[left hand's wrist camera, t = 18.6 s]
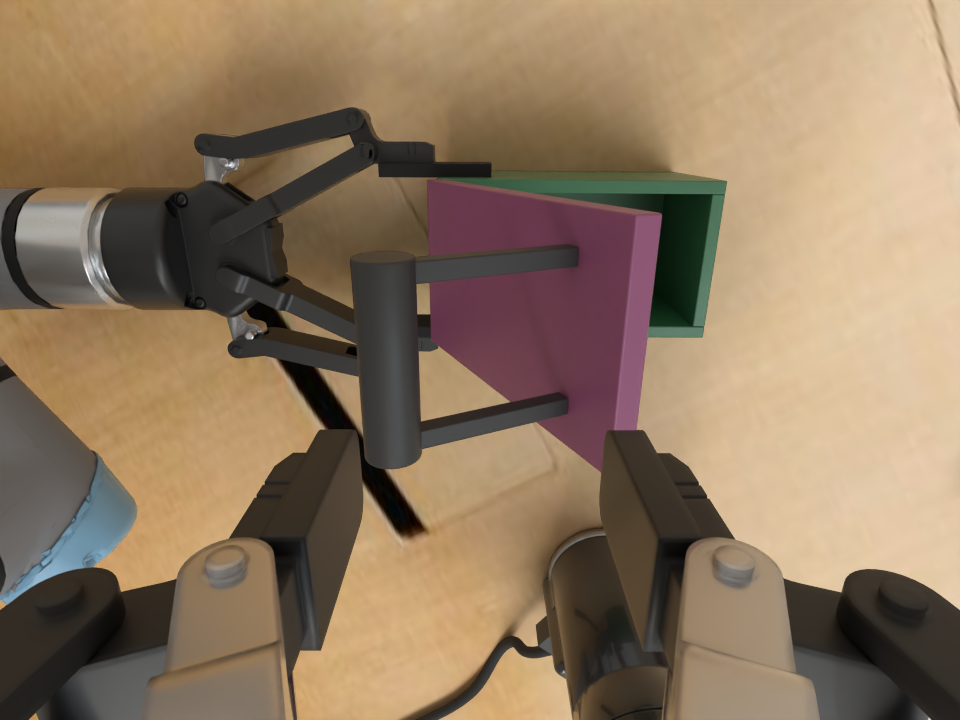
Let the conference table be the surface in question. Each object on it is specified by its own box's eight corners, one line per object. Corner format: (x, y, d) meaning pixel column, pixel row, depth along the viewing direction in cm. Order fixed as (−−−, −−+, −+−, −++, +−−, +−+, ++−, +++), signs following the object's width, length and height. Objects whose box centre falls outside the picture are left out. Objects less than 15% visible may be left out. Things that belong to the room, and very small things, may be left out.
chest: (674, 172, 40) (727, 180, 31) (658, 298, 43) (702, 337, 35) (446, 170, 40) (436, 178, 31) (447, 296, 43) (439, 335, 35)
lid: (663, 212, 17) (380, 231, 13) (632, 472, 21) (397, 545, 17) (444, 179, 31) (274, 183, 27) (446, 337, 34) (295, 361, 31)
